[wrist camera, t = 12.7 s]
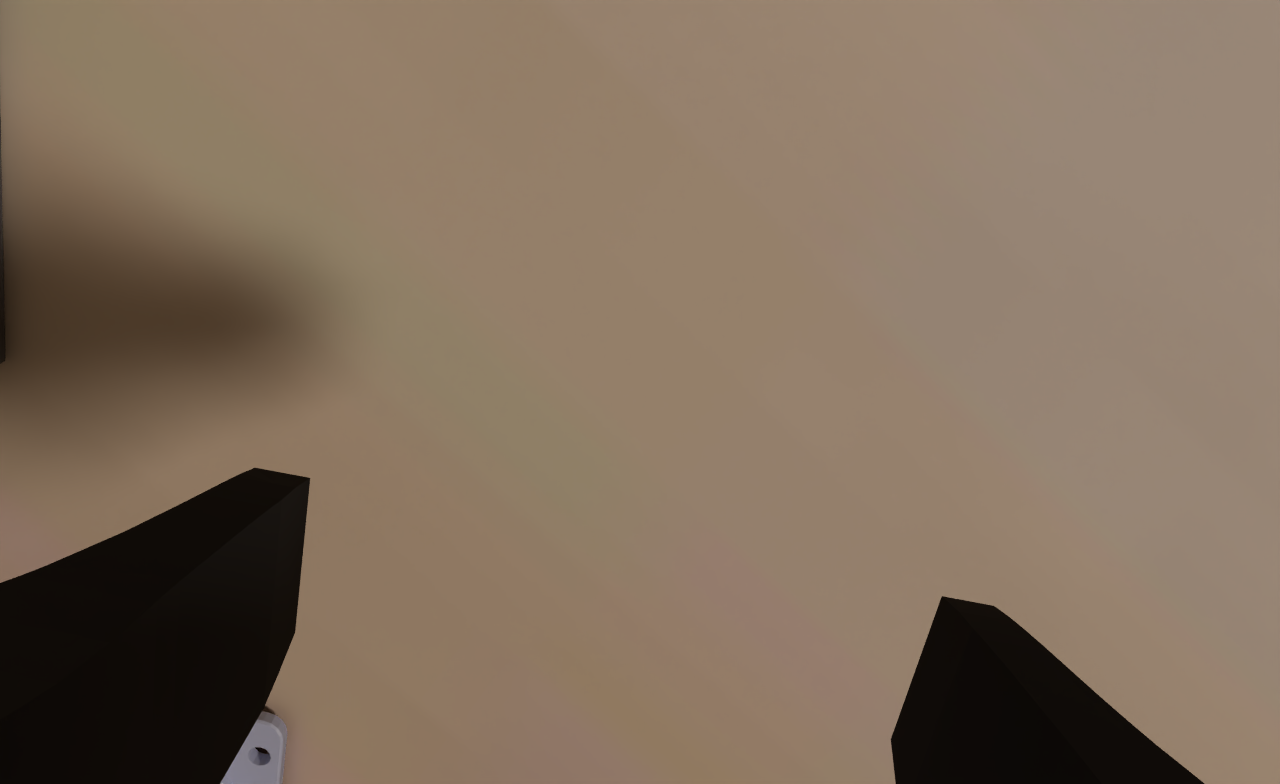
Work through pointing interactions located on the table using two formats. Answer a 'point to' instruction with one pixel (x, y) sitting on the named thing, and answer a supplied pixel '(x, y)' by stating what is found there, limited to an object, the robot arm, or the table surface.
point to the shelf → (1, 273)
